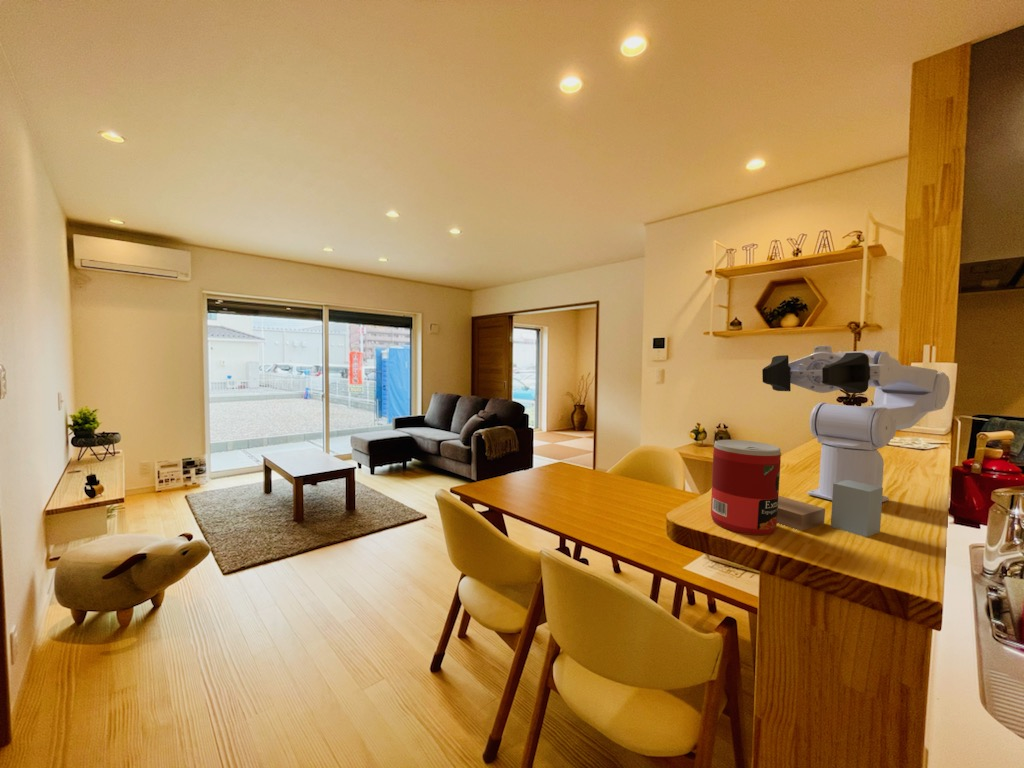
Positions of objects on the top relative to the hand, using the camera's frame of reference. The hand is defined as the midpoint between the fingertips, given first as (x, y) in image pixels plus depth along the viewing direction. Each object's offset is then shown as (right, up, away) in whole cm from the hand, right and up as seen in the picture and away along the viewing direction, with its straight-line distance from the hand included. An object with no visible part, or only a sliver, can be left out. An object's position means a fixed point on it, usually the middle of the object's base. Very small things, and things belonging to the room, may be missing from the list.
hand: (793, 375), depth 59 cm
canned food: (-8, -21, -1) cm, 22 cm away
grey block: (+7, -21, -2) cm, 22 cm away
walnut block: (0, -21, +1) cm, 21 cm away
